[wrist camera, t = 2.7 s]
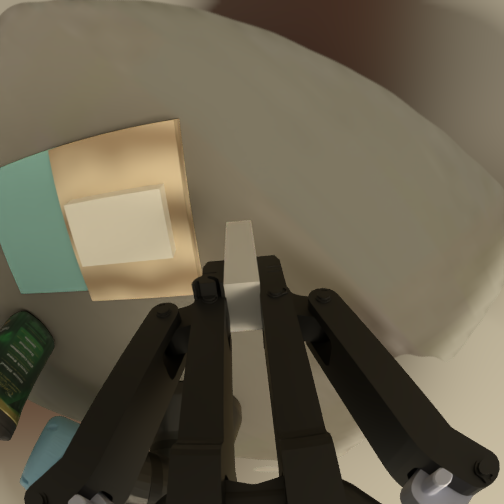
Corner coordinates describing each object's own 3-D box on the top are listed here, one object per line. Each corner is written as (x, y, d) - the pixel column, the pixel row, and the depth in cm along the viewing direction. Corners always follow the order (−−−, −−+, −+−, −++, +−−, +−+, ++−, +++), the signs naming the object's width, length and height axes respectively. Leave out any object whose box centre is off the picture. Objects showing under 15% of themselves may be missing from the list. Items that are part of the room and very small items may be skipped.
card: (176, 249, 26) (173, 258, 24) (89, 258, 25) (82, 266, 24) (163, 183, 23) (159, 188, 21) (71, 199, 23) (63, 205, 21)
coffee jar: (26, 301, 30) (-40, 406, 14) (64, 342, 34) (16, 452, 17) (1, 321, 32) (-52, 410, 16) (34, 356, 35) (-8, 448, 19)
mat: (98, 287, 30) (96, 289, 30) (22, 292, 30) (21, 293, 29) (58, 146, 22) (56, 147, 22) (-17, 175, 22) (-20, 176, 22)
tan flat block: (203, 279, 30) (201, 294, 28) (100, 287, 30) (92, 300, 28) (179, 118, 23) (173, 119, 21) (61, 145, 22) (47, 150, 20)
